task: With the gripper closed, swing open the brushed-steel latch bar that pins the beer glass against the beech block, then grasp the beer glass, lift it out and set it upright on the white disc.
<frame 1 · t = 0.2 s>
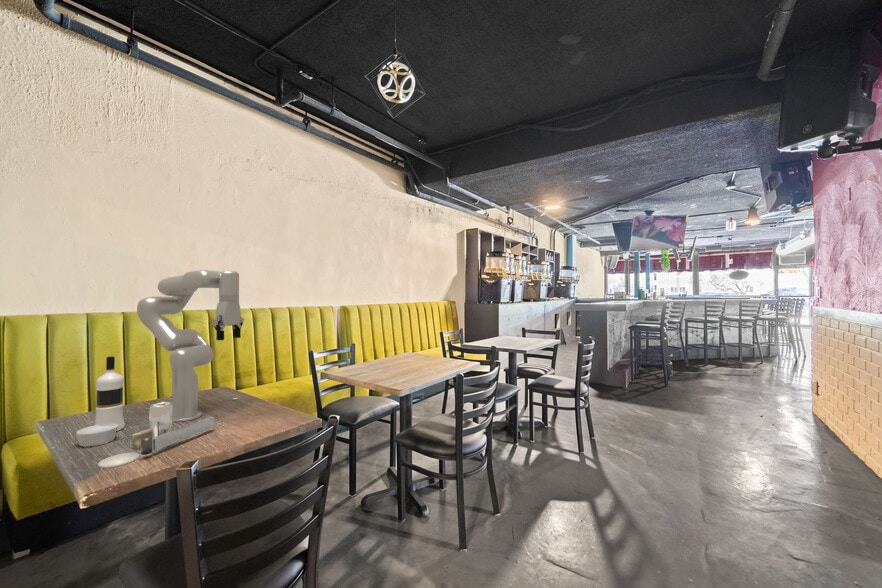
hand: (228, 338, 157), 36 cm above the table, tool pointing down, fingers open, 9 cm apart
vodka: (109, 431, 146), on the table
latch bar: (180, 432, 133), point 4 cm above the table, hinge at 0.0°
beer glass: (160, 446, 131), on the table
white disc: (119, 460, 119), on the table
ramekin: (97, 443, 134), on the table
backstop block: (148, 444, 133), on the table
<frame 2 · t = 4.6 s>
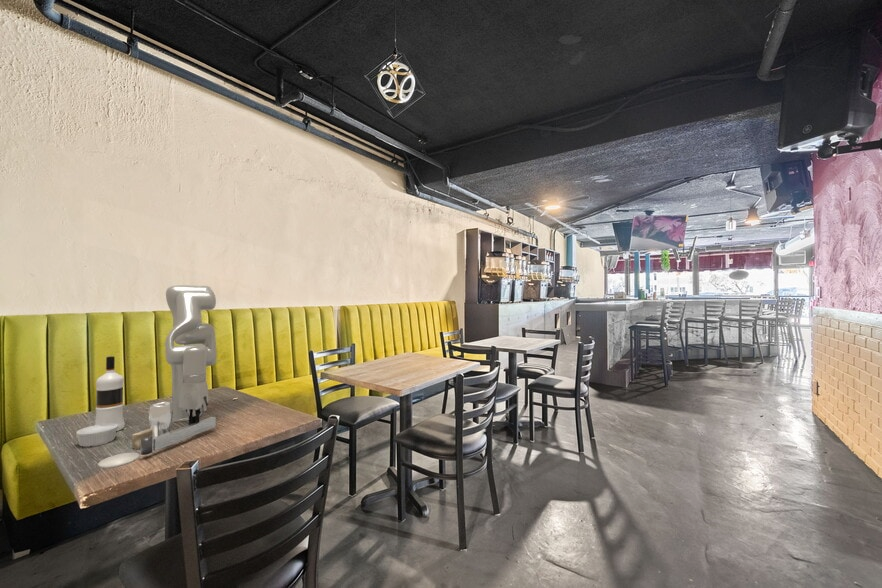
hand: (194, 425, 141), 4 cm above the table, tool pointing down, fingers closed
latch bar: (181, 432, 133), point 4 cm above the table, hinge at 1.3°, touching gripper
everything else where it was.
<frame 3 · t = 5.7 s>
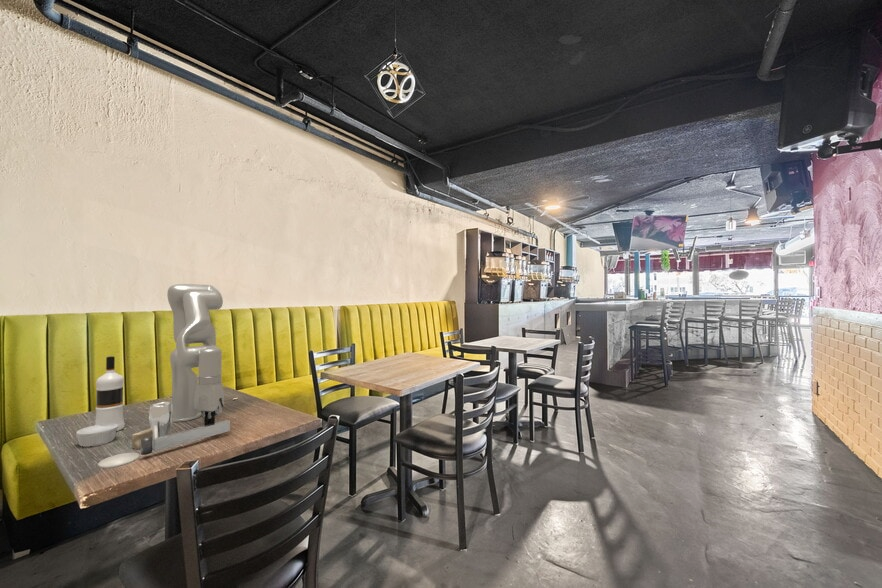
hand: (209, 427, 140), 4 cm above the table, tool pointing down, fingers closed
latch bar: (188, 434, 131), point 4 cm above the table, hinge at 22.2°, touching gripper
everything else where it was.
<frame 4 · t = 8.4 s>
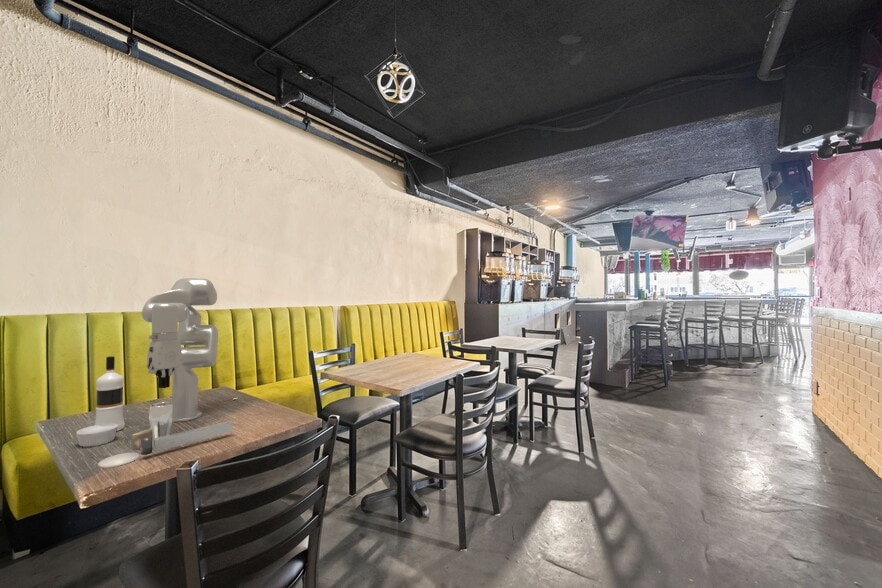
hand: (164, 387, 132), 21 cm above the table, tool pointing down, fingers closed
latch bar: (189, 435, 131), point 4 cm above the table, hinge at 26.4°
everything else where it was.
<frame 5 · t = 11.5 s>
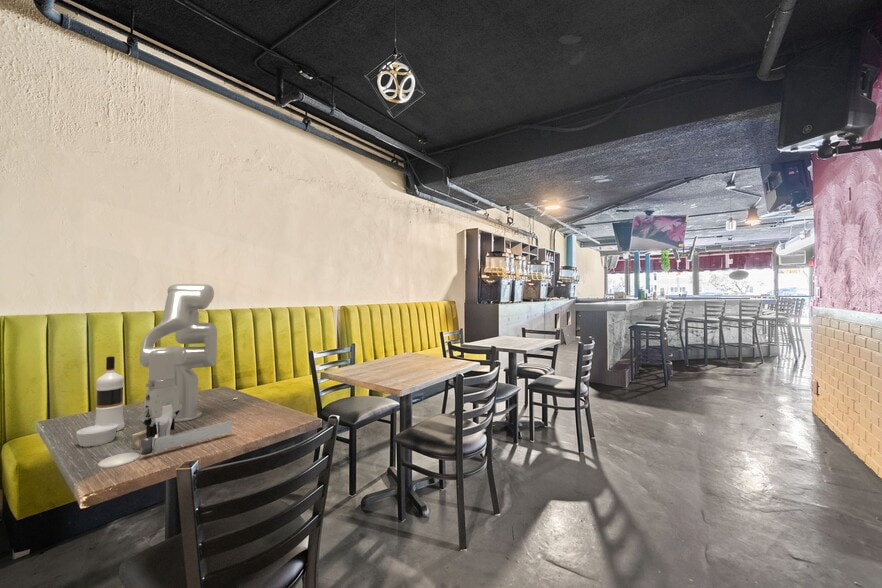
hand: (160, 432, 131), 5 cm above the table, tool pointing down, fingers closed on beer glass, 6 cm apart
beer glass: (160, 446, 131), on the table, touching gripper
everything else where it was.
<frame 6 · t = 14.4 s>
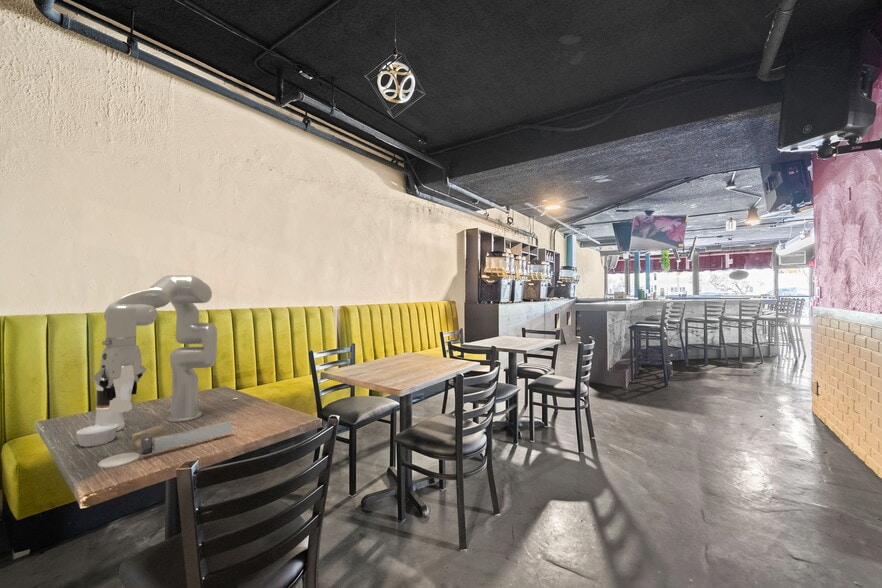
hand: (120, 396, 119), 21 cm above the table, tool pointing down, fingers closed on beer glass, 6 cm apart
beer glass: (120, 411, 119), point 16 cm above the table, touching gripper
everything else where it was.
when the fingers open (6 cm above the table, at t = 17.5 s): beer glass drops 1 cm, resting on white disc.
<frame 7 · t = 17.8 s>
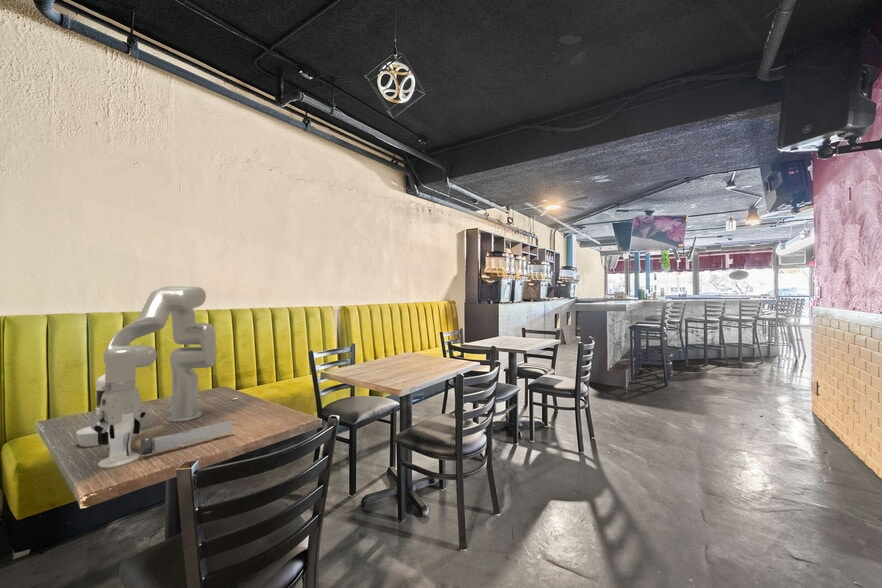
hand: (119, 438, 119), 7 cm above the table, tool pointing down, fingers open, 9 cm apart
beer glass: (120, 459, 119), resting on white disc
everything else where it was.
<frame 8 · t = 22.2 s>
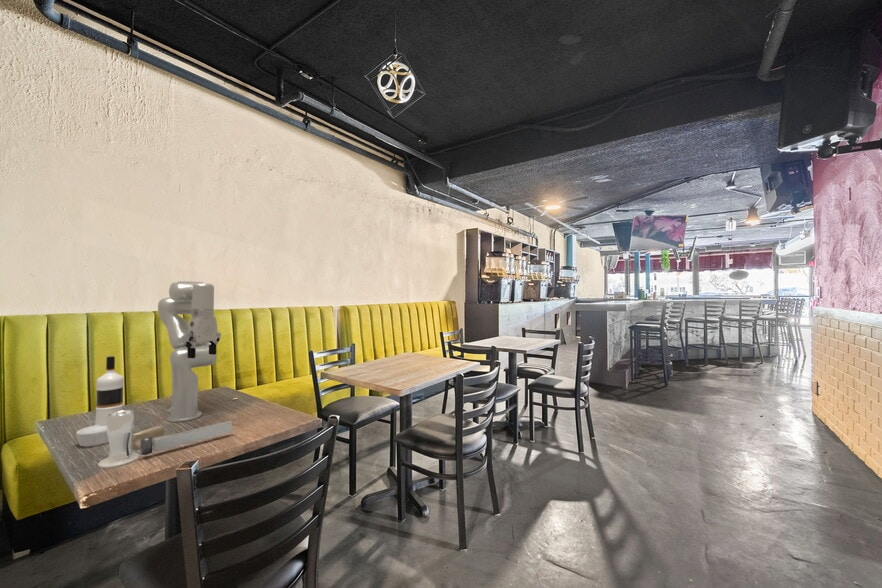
hand: (202, 356, 146), 30 cm above the table, tool pointing down, fingers open, 9 cm apart
nothing on the table moved.
at the end: latch bar at +26° (first picture: +0°); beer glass 0.3 cm from the white disc (horizontally); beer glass tilted 0° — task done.
